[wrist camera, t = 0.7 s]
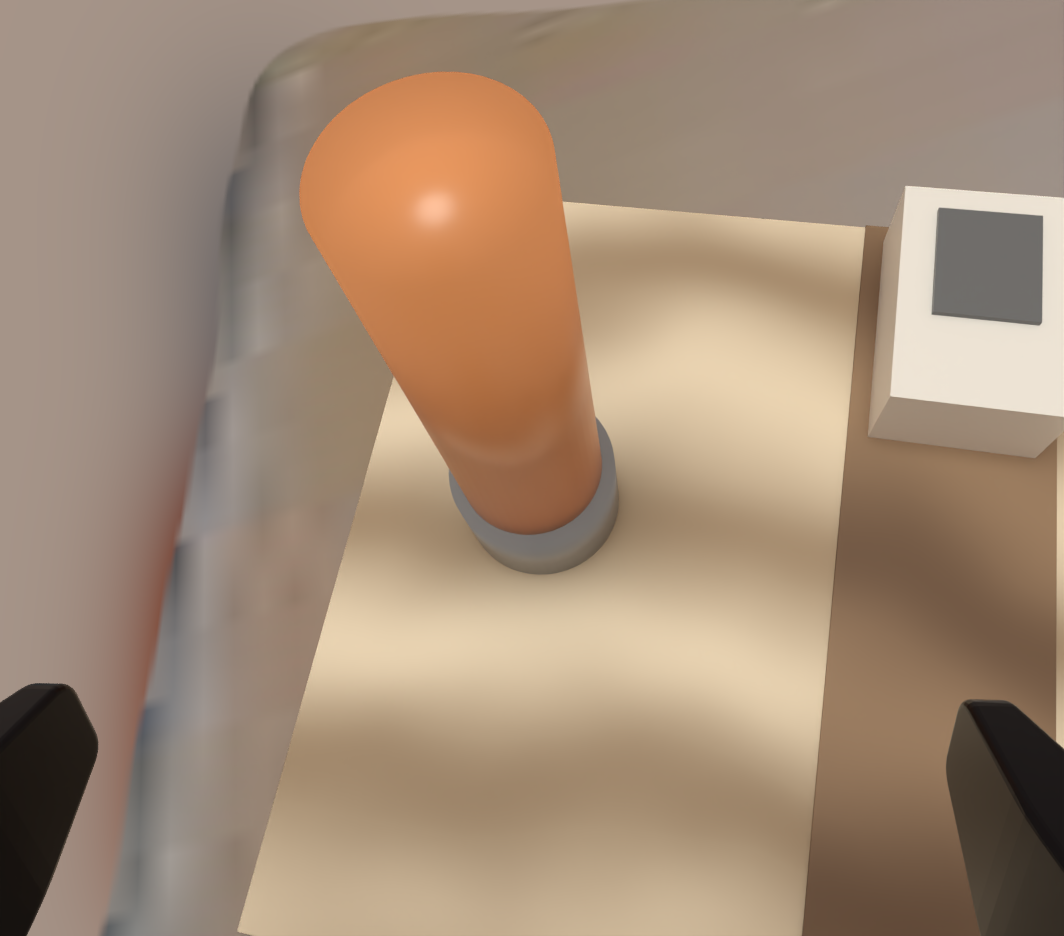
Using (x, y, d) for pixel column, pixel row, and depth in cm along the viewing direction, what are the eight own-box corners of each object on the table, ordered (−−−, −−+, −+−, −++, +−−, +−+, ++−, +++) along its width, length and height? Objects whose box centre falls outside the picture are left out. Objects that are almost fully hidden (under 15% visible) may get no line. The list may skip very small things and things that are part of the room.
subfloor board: (1379, 1215, 18) (1446, 1252, 16) (263, 924, 22) (235, 931, 21) (1289, 298, 25) (1330, 265, 23) (456, 221, 29) (445, 189, 28)
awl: (604, 586, 23) (545, 323, 11) (453, 560, 23) (238, 288, 11) (630, 442, 24) (604, 62, 12) (486, 422, 25) (325, 47, 13)
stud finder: (1035, 458, 22) (1080, 415, 20) (867, 436, 23) (891, 393, 21) (1037, 255, 24) (1078, 195, 22) (883, 241, 25) (907, 181, 23)
